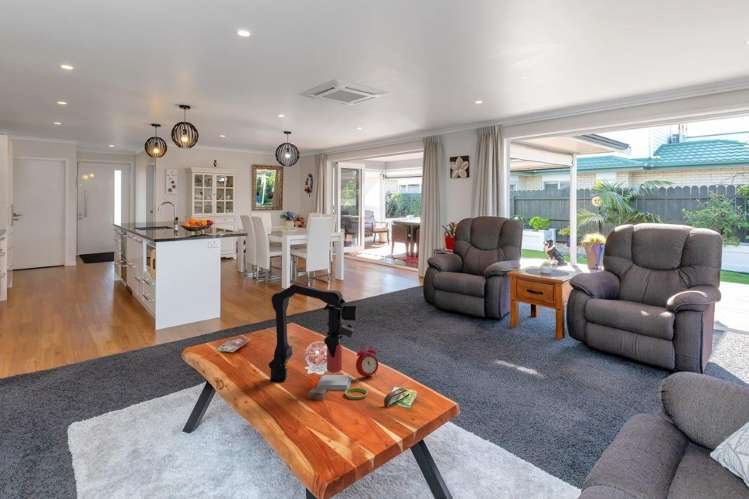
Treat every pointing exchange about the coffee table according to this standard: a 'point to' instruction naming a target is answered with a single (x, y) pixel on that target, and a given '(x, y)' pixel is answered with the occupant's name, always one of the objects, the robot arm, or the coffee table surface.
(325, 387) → the stand
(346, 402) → the coffee table surface
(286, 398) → the coffee table surface
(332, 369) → the beer can
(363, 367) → the alarm clock
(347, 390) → the olive green ring
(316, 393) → the metal block
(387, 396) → the wallet with cash
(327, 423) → the coffee table surface
